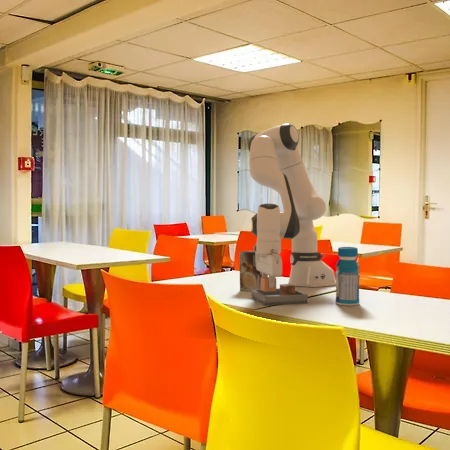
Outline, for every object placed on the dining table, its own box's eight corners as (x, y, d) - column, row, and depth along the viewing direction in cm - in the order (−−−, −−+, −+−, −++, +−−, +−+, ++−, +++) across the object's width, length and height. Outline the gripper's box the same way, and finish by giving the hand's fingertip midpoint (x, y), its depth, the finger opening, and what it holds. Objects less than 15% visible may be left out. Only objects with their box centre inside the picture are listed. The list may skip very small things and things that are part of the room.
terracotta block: (272, 289, 200) (272, 277, 200) (276, 291, 196) (276, 278, 195) (260, 289, 199) (260, 277, 199) (264, 291, 195) (264, 279, 194)
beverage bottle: (346, 307, 185) (346, 249, 184) (330, 303, 193) (330, 247, 192) (364, 304, 189) (365, 247, 188) (348, 300, 197) (349, 246, 196)
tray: (291, 295, 208) (291, 287, 208) (307, 303, 192) (307, 294, 192) (251, 297, 204) (251, 289, 204) (265, 305, 188) (265, 297, 188)
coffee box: (265, 290, 221) (265, 251, 220) (260, 292, 215) (260, 252, 214) (244, 288, 224) (244, 250, 224) (239, 291, 218) (238, 251, 218)
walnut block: (291, 295, 202) (291, 283, 202) (295, 297, 197) (295, 285, 197) (279, 296, 201) (279, 284, 200) (284, 298, 196) (284, 286, 196)
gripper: (286, 250, 187) (286, 290, 188) (268, 246, 207) (267, 281, 208) (269, 251, 186) (269, 291, 186) (252, 246, 206) (252, 282, 206)
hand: (268, 286), depth 197 cm, fingers closed on terracotta block, 4 cm apart
